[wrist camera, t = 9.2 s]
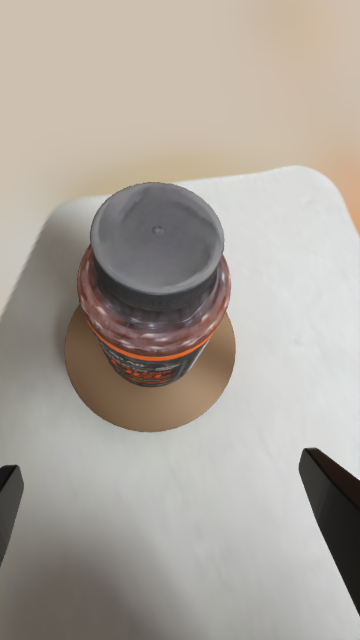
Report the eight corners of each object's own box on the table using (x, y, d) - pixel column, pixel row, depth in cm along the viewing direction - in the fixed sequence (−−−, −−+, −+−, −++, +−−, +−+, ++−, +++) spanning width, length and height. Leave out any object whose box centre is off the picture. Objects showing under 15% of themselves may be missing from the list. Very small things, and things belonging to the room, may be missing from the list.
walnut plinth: (197, 459, 19) (203, 462, 17) (44, 394, 20) (29, 389, 17) (244, 315, 23) (254, 301, 21) (116, 265, 24) (112, 247, 21)
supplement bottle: (94, 379, 18) (13, 299, 7) (119, 293, 20) (84, 138, 10) (190, 398, 18) (246, 346, 7) (204, 311, 20) (263, 176, 10)
